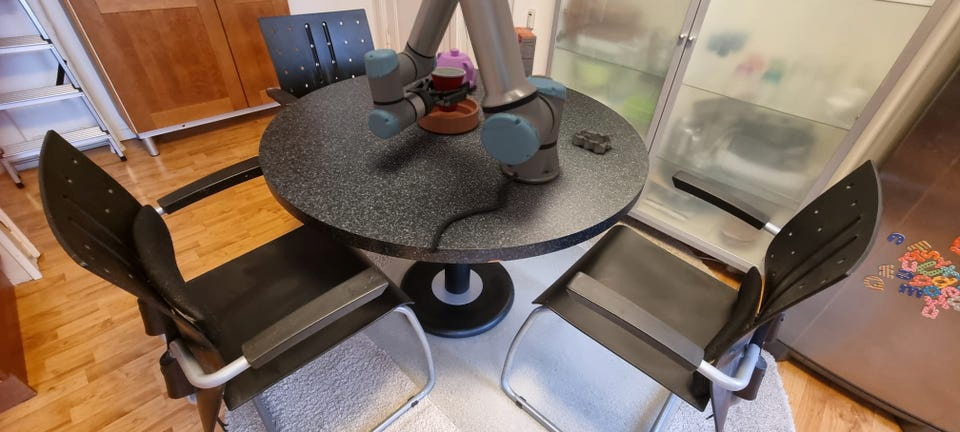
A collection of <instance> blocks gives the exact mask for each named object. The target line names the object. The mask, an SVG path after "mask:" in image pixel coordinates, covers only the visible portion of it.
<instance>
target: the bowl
mask: <svg viewBox="0 0 960 432" xmlns="http://www.w3.org/2000/svg"><path fill="white" fill-rule="evenodd" d="M479 116H480V105H479V102H477V101H476V100H474V99H473V98H471V97H468V96H467V99H466V100H464V101H461V102H459V103H458V107H457V110H456V111H454V112H450V113H446V112H442V111H440V110H439V108H438V106H436V107H434V108H433V110H432V112H431V113H430V114H428V115H427V116H425V117H424V118H422V119H420V120H419V121H417V123H418V125H419V126H420V127H421V128H423V129H424V130H427V131H429V132H432V133H437V134H448V135H449V134H450V135H452V134H460V133H465V132H468V131H472V130H473V129H474V128H476V127H477V126H478V125H479Z"/></svg>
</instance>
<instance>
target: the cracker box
mask: <svg viewBox="0 0 960 432" xmlns="http://www.w3.org/2000/svg"><path fill="white" fill-rule="evenodd" d="M514 28H515V33H516V37H517V41H518V46H519V50H520V54H521V59H522V63H523V67H524V72H525V76H526V78H528V77H529V76H532V75H533V70H534V62H535V55H536V47H537V46H536V45H537V38H538V37H537V36H536V34H535V33H533V32H532V31H531V30H530V29H528V28H527V27H525V26H514Z"/></svg>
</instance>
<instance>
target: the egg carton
mask: <svg viewBox="0 0 960 432" xmlns="http://www.w3.org/2000/svg"><path fill="white" fill-rule="evenodd" d="M572 134H573V135H572V139H571V142H573V145H574V146H582V147H583V149H584V150H593V152H594V153H595V154H599V153H600V154H603V153H605V151H606V150H609V149H610V146H611V144H612V143H611V142H612V139H614V137H615V136H614V135H615V134H612V133H609V132H604V133H602V132H595V131H592V130H586V129H585V128H579V129H577V130H575V131H572Z"/></svg>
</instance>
